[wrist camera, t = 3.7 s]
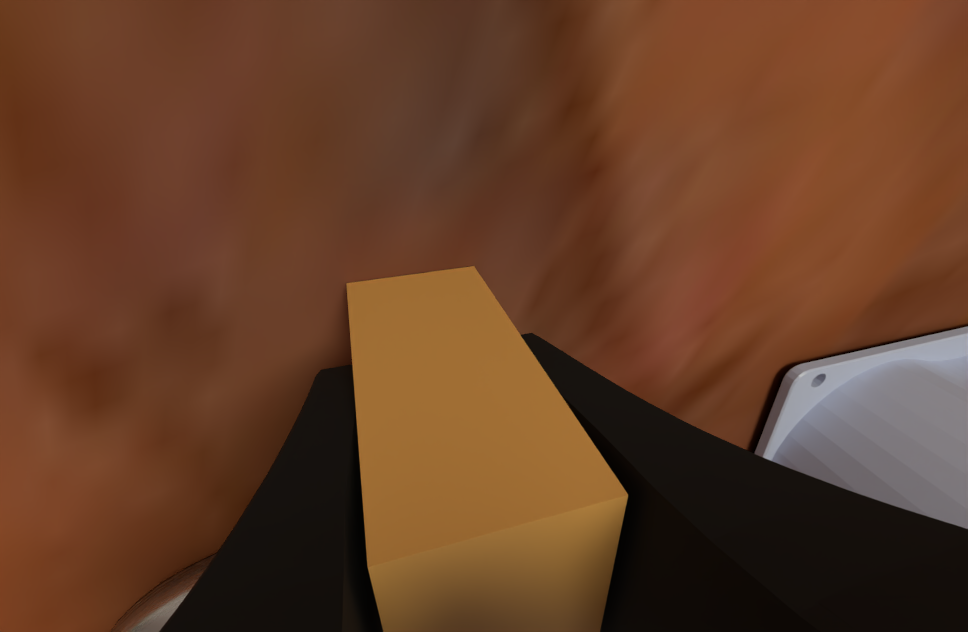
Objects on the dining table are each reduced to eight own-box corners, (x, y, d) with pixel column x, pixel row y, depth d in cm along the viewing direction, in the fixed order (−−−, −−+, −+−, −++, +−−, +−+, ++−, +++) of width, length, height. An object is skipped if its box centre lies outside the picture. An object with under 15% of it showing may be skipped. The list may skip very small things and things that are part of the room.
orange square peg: (473, 265, 10) (627, 494, 5) (477, 386, 11) (596, 651, 6) (346, 282, 9) (367, 567, 4) (369, 407, 11) (404, 720, 6)
